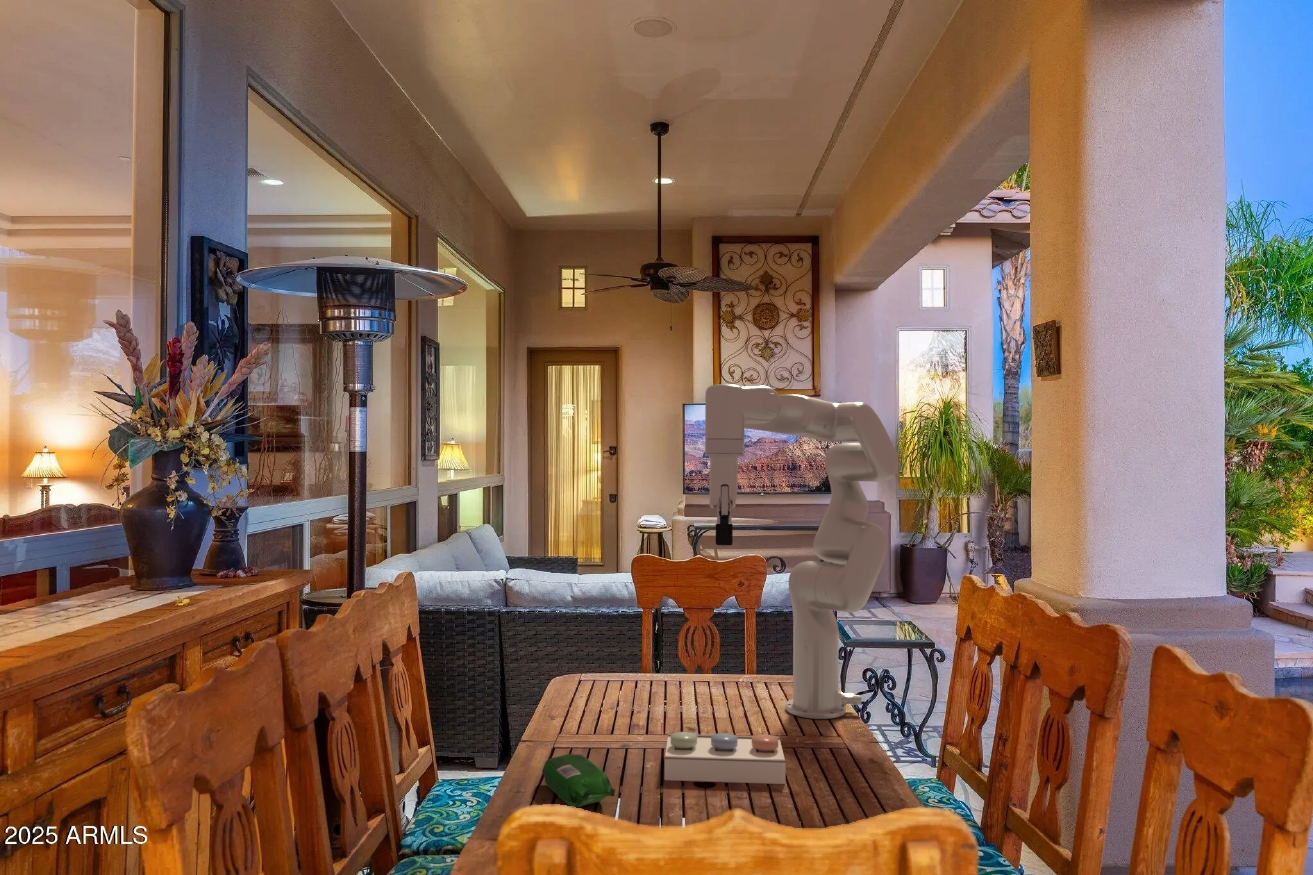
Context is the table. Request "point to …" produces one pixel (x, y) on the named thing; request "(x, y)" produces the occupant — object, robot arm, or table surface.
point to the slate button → (724, 741)
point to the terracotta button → (764, 743)
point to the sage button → (683, 740)
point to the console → (725, 763)
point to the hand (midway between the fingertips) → (724, 544)
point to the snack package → (576, 780)
